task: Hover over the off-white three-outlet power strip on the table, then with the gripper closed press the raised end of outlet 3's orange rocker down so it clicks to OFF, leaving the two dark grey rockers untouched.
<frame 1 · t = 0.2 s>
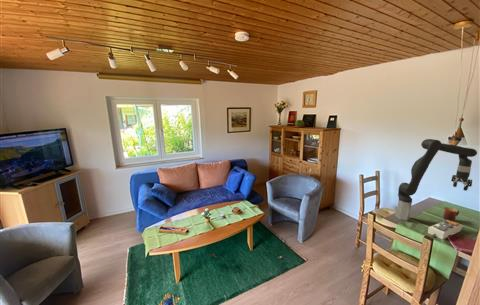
hand: (459, 188, 170), 29 cm above the table, fingers open, 8 cm apart
mug: (450, 220, 174), on the table
rocker 1: (442, 227, 151), point 7 cm above the table, hinge at -14.5°
rocker 2: (448, 225, 154), point 7 cm above the table, hinge at 14.5°
power strip: (444, 231, 156), on the table
rocker 3: (454, 222, 157), point 7 cm above the table, hinge at 14.5°
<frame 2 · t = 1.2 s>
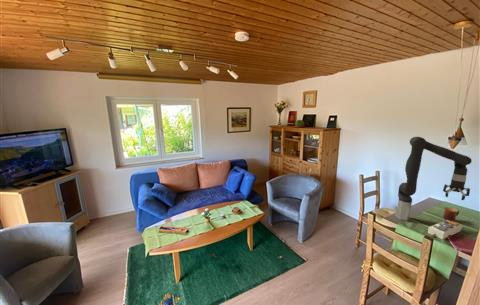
hand: (454, 198, 159), 25 cm above the table, fingers open, 8 cm apart
nothing on the table moved.
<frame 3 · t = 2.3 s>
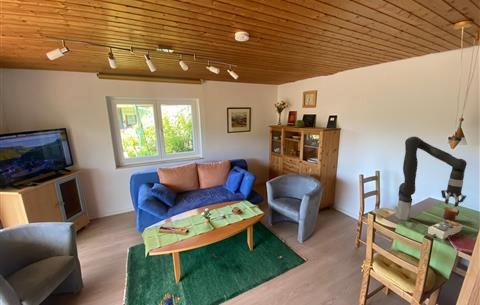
hand: (451, 205, 152), 23 cm above the table, fingers open, 4 cm apart
nothing on the table moved.
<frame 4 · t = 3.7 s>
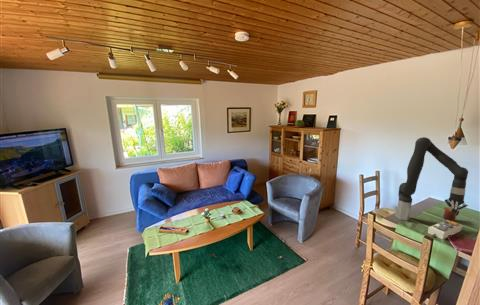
hand: (454, 213, 154), 16 cm above the table, fingers closed
nothing on the table moved.
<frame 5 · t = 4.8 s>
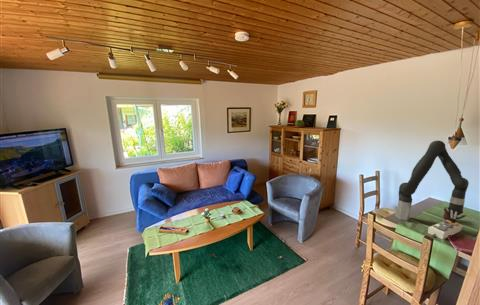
hand: (452, 222, 156), 7 cm above the table, fingers closed
rocker 3: (454, 222, 157), point 7 cm above the table, hinge at 13.8°, touching gripper
everything else where it was.
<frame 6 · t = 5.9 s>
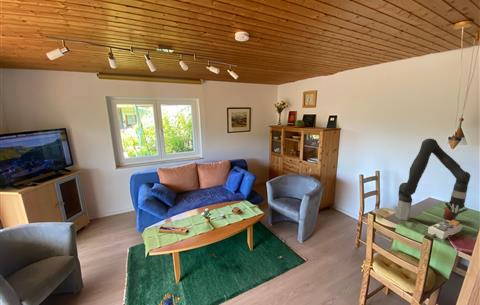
hand: (453, 216, 155), 13 cm above the table, fingers closed
rocker 3: (454, 222, 157), point 7 cm above the table, hinge at -8.8°
everything else where it was.
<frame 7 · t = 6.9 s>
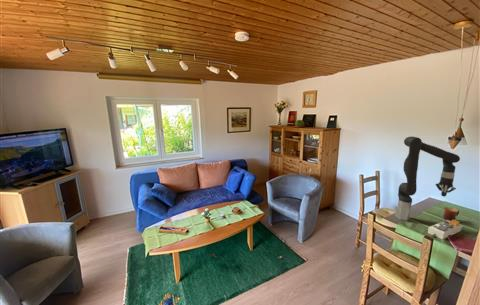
hand: (443, 196, 167), 24 cm above the table, fingers closed
rocker 3: (454, 222, 157), point 7 cm above the table, hinge at -16.8°, touching power strip
everything else where it was.
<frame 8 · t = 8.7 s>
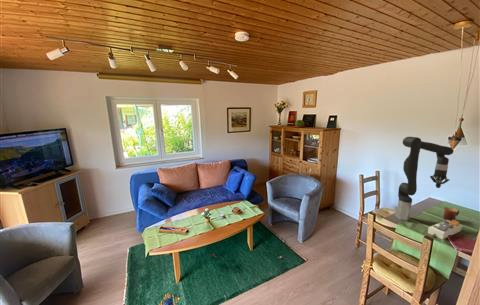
hand: (437, 187, 173), 29 cm above the table, fingers closed
rocker 3: (454, 222, 157), point 7 cm above the table, hinge at -9.7°
everything else where it was.
at the end: rocker 3 at -10° (first picture: +15°); rocker 2 at +14° (first picture: +15°); rocker 1 at -14° (first picture: -15°) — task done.
